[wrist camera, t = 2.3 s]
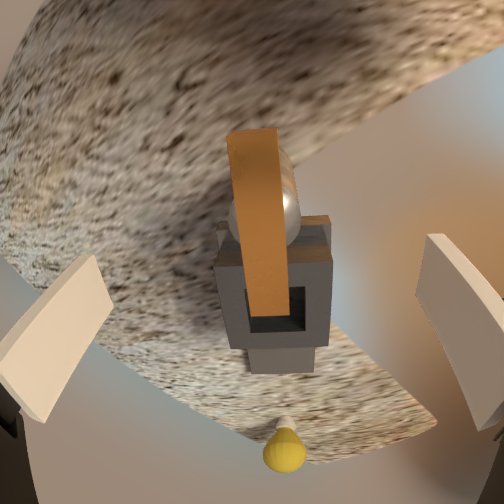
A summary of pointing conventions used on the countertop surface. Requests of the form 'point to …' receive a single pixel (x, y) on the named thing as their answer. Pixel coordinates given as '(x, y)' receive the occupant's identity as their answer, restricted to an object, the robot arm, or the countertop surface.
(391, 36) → the countertop surface
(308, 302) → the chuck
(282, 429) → the light bulb
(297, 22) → the countertop surface
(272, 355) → the mat
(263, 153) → the key
